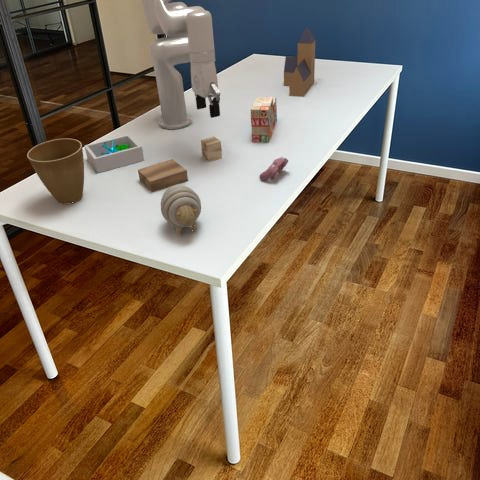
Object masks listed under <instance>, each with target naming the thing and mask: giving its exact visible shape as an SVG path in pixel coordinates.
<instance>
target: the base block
mask: <svg viewBox="0 0 480 480" xmlns="http://www.w3.org/2000/svg"><path fill="white" fill-rule="evenodd" d="M137 173H138V179H139V181H140V182H141V183H142V184H143V185H144V186H145V187H146V188H147V189H148V190H149V191H150V192H152V193H156V192H158V191H162V190H164V189H168V188H169V187H171V186H174V185H181V184H182V183H186V182H188V181H189V179H188V178H189V176H188V170H187V169H186V168H184V167H183V166H182V165H181V164H179V163H178V162H177V161H175V160H174V159H167V160H165V161H161V162H159V163H155V164H151V165H149V166H145V167H143V168H142V167H141V168H139V169H137Z"/></svg>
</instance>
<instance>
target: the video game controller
mask: <svg viewBox="0 0 480 480" xmlns="http://www.w3.org/2000/svg"><path fill="white" fill-rule="evenodd" d="M288 162H289V159H287V158H286V157H283V156H281V157H279V158H275V159H273V162H272V163H271V164H270V165H269V167H268V168H267V169H266V170H265V171H263V172H262V173H260V175H259V177H258V178H259V180H260V181H264V182H265V181H269V180H270V179H272V180H274V179H276V177H277V176H279V175H280V174H282V173H283V172H282V171H284V168H285V167H286V166H287V165H288Z"/></svg>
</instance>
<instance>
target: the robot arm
mask: <svg viewBox="0 0 480 480" xmlns="http://www.w3.org/2000/svg"><path fill="white" fill-rule="evenodd" d="M141 5H142V9H143V13H144V18H145V22H146V25H147V28H148V30H149V32H150V33H151V34H152V35H165V37H161V38H157V39H154V40H152V42H151V43H150V44H149V48H148V52H149V56H150V59H151V63H152V66H153V69H154V74H155V80H156V86H157V92H158V99H159V104H160V105H159V106H160V110H161V111H160V112H161V117H162V118H161V119H160V120H159V121H158V124H159V127H160V128H162V129H165V130H179V129H184V128H186V127H189V126H190V125H191V123H192V118H191V116H188V115H187V114H188V113H187V108H186V107H187V106H186V99H185V98H186V97H185V90H184V83H183V77H182V74H181V73H180V72H179V71H178V69H176V68H175V67H174V66H177V65H181V64H187V63H190V78H191V79H190V80H191V81H190V83H191V90H192V92H193V93H194V96H195V103H196V104H195V106H196V109H197V110H202V109H206V108H207V100H206V98H207V99H208V102H209V105H208V106H209V107H208V108H209V117H210V118H217V117H220V116H221V110H220V108H221V107H220V102H221V101H220V100H221V91H220V90H219V83H218V82H219V81H218V75H217V69H216V63H215V62H216V52H215V51H216V50H215V43H214V42H215V40H214V31H213V30H214V29H213V18H212V14H211V12H210V11H209V10H205V8H203V7H202V6H200V5H199V6H198V5H195V6H188V5H187V4H185V2H182V1H176V2H175V1H174V2H172V0H141ZM166 36H167V37H166Z"/></svg>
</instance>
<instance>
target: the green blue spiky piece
mask: <svg viewBox="0 0 480 480" xmlns="http://www.w3.org/2000/svg"><path fill="white" fill-rule="evenodd" d="M111 142H112V149H110V148H108V146H107V145H106V144H105V143H106V142H104V145H105V146H104V145H103V146H102V147H105V148H106V149H107V150H108V151H109V152H108V153H101V155H107V154H111V153H115V152H119V151H122V150H126V149H130V147H129V146H128V145H125V144H123V145H121V146H118V145H116V146H115V147H114V143H113V140H112V141H111Z"/></svg>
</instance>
